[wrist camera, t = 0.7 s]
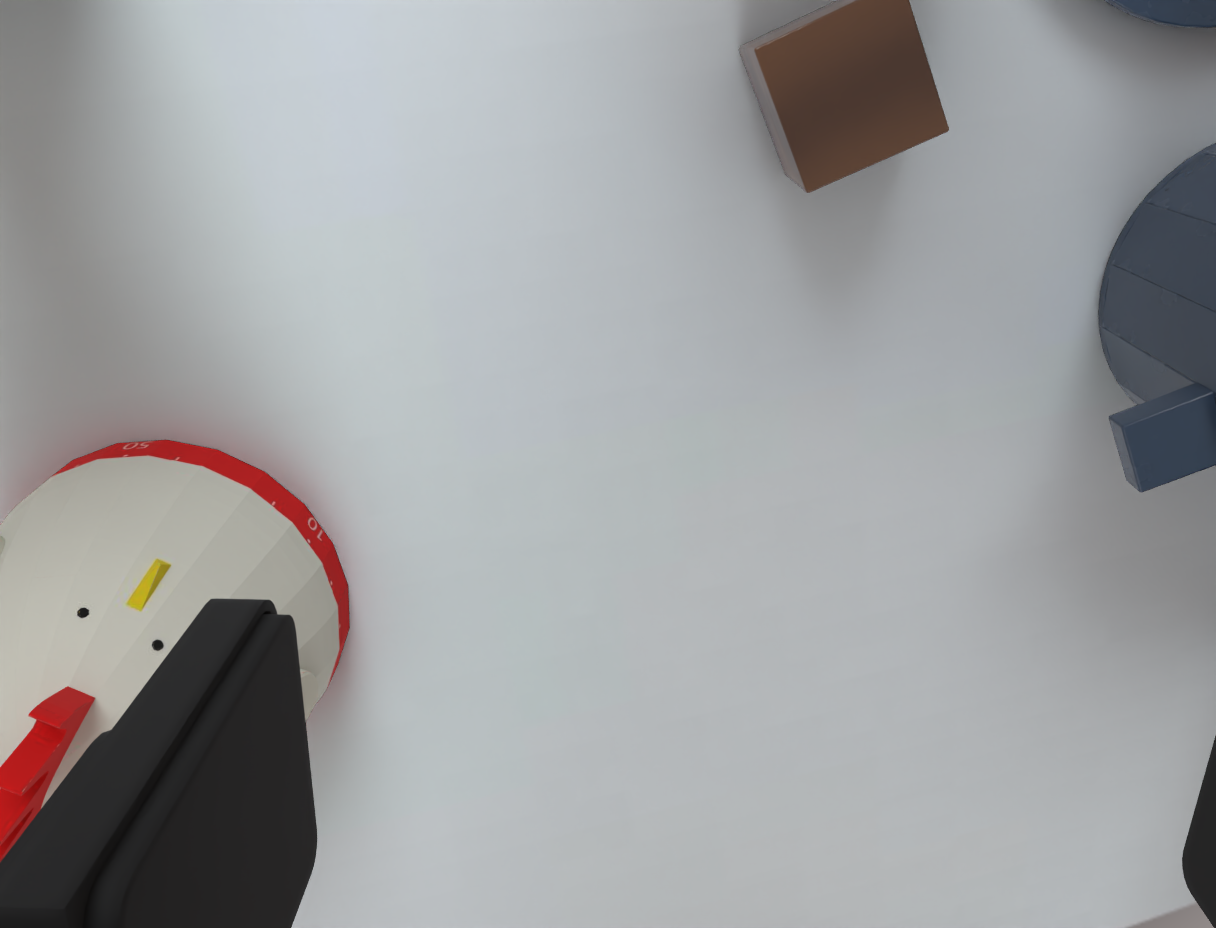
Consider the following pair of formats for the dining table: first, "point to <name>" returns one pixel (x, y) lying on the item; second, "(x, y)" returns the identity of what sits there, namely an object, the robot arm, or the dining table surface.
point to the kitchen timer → (140, 594)
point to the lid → (1171, 11)
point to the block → (844, 89)
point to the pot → (1165, 327)
